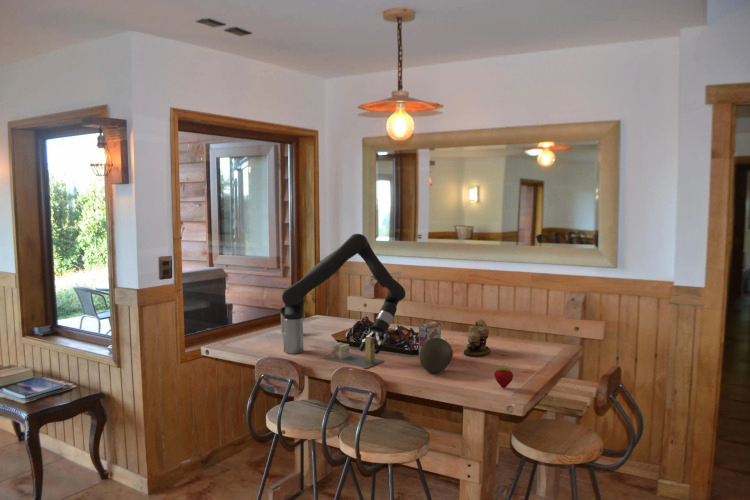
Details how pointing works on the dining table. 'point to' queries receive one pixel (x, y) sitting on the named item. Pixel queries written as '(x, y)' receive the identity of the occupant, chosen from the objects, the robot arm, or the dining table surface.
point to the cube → (340, 350)
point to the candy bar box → (428, 332)
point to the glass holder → (283, 320)
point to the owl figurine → (477, 340)
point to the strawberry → (503, 376)
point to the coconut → (435, 355)
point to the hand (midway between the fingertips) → (368, 351)
